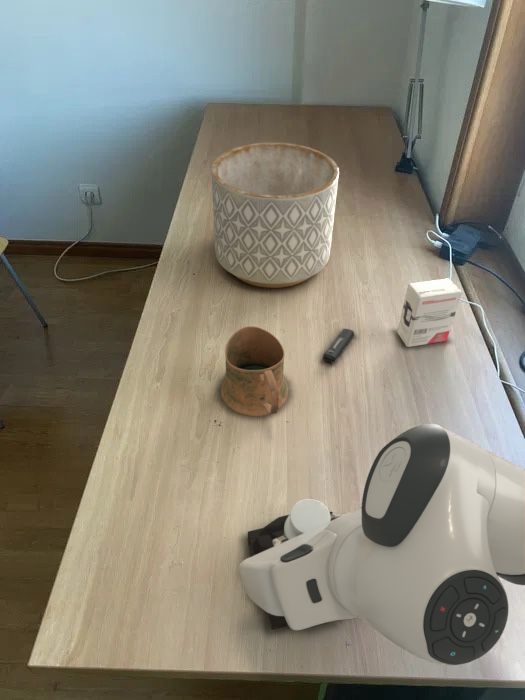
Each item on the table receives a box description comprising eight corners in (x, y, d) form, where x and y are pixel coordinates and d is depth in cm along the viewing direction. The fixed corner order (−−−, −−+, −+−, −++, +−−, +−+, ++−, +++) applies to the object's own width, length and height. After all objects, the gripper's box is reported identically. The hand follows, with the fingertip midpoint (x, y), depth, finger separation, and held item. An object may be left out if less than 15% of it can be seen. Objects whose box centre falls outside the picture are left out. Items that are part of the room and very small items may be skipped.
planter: (285, 310, 114) (290, 211, 99) (192, 266, 125) (184, 171, 110) (349, 256, 129) (362, 163, 114) (261, 221, 141) (262, 132, 126)
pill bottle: (305, 529, 74) (311, 485, 67) (336, 561, 71) (345, 518, 64) (272, 554, 71) (275, 511, 65) (303, 589, 68) (309, 547, 61)
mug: (238, 450, 88) (237, 398, 80) (215, 373, 100) (211, 322, 92) (308, 436, 90) (313, 383, 82) (277, 362, 103) (279, 311, 95)
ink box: (435, 325, 111) (450, 276, 104) (447, 341, 108) (463, 291, 100) (396, 331, 110) (407, 282, 102) (406, 348, 106) (419, 298, 98)
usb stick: (342, 331, 110) (343, 325, 109) (355, 336, 109) (356, 330, 108) (321, 360, 104) (321, 353, 103) (334, 365, 103) (334, 359, 102)
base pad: (374, 609, 70) (377, 600, 68) (265, 640, 67) (266, 631, 66) (334, 512, 80) (336, 503, 78) (238, 535, 77) (238, 526, 76)
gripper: (435, 492, 58) (368, 476, 71) (258, 574, 51) (219, 540, 64) (453, 550, 58) (383, 524, 71) (279, 640, 51) (236, 593, 64)
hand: (304, 532), depth 68 cm, fingers closed on pill bottle, 6 cm apart
